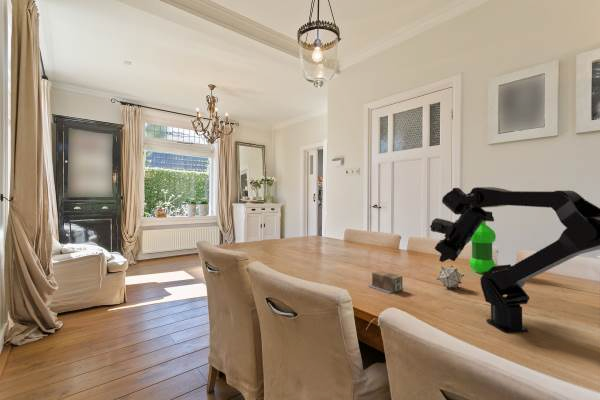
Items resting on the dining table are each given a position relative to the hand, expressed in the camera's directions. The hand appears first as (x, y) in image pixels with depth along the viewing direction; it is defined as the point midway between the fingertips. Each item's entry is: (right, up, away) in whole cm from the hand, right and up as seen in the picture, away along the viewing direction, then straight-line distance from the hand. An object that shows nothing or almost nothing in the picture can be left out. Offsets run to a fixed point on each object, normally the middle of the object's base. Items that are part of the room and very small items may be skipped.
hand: (440, 260), depth 91 cm
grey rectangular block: (-11, -11, +9) cm, 18 cm away
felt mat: (-14, -13, +14) cm, 24 cm away
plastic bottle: (+36, -13, +33) cm, 50 cm away
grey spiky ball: (+10, -13, +13) cm, 21 cm away
